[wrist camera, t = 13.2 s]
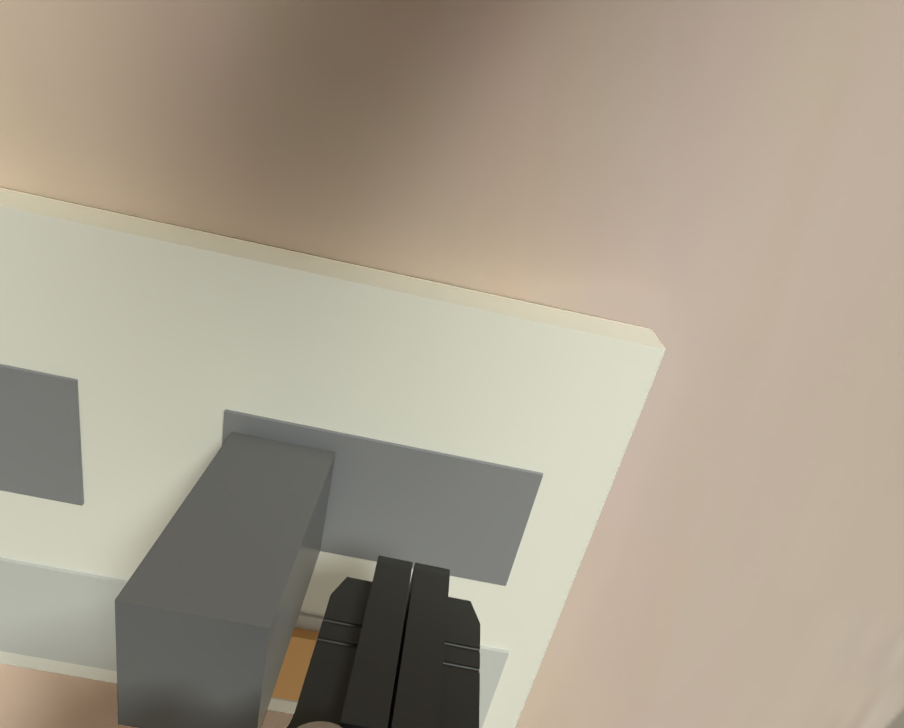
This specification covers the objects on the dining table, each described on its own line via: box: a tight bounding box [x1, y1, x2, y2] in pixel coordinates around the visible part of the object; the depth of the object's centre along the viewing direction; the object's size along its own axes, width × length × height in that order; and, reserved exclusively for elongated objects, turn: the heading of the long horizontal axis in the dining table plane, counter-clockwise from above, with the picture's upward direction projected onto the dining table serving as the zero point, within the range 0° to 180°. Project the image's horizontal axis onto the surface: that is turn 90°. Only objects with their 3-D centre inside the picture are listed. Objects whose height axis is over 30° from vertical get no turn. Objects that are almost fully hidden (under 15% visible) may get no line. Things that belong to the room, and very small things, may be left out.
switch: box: [115, 432, 336, 728], centre depth 12 cm, size 3×2×5 cm
